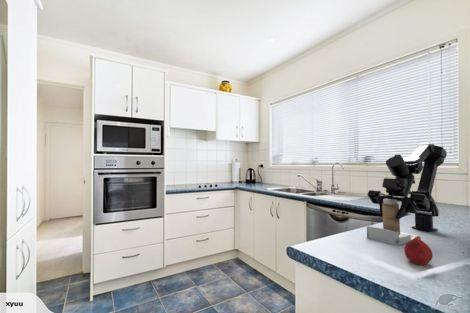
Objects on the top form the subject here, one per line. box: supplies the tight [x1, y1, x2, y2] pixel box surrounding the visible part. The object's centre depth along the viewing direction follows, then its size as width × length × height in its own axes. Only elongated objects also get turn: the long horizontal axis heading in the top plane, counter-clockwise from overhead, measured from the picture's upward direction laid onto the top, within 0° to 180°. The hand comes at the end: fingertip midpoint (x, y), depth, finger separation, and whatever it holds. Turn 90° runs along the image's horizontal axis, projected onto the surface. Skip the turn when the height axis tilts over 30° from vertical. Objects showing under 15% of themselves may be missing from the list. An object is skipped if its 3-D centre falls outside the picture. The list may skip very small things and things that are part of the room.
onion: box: [403, 235, 434, 266], centre depth 60 cm, size 6×6×8 cm
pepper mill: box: [382, 199, 401, 235], centre depth 82 cm, size 5×5×12 cm
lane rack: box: [366, 225, 417, 246], centre depth 82 cm, size 17×10×5 cm, turn 121°
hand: (388, 217), depth 81 cm, fingers closed on pepper mill, 5 cm apart
